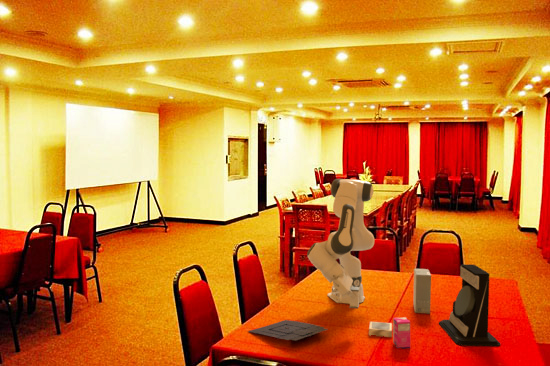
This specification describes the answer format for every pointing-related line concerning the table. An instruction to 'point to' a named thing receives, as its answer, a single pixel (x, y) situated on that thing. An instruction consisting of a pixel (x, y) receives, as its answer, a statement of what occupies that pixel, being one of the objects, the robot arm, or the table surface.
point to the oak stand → (380, 329)
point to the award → (471, 310)
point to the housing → (355, 302)
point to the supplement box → (401, 332)
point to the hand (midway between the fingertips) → (355, 296)
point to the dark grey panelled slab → (289, 330)
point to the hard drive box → (422, 291)
